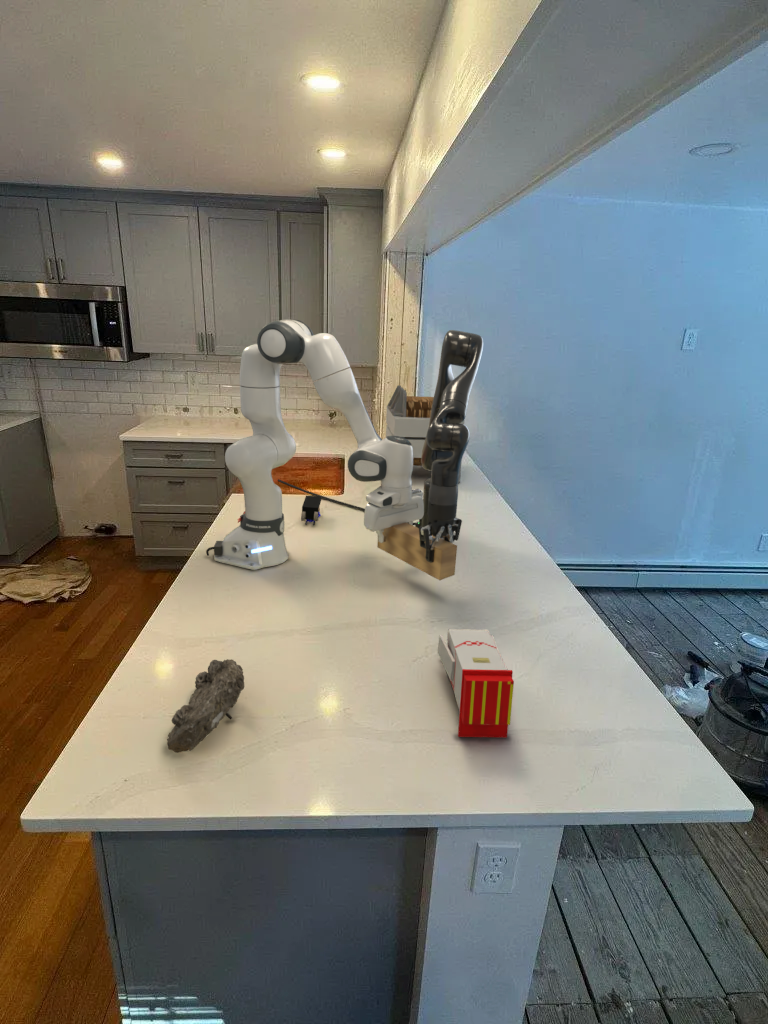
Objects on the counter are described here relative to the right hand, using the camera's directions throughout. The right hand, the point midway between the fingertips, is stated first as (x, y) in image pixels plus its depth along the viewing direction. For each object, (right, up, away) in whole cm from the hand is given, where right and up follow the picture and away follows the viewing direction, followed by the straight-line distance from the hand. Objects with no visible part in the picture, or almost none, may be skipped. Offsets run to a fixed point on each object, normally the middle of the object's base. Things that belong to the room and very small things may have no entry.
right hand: (438, 558), depth 153 cm
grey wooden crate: (+3, +31, +122) cm, 126 cm away
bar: (-6, -1, +8) cm, 10 cm away
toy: (+3, -25, -34) cm, 42 cm away
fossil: (-47, -27, -44) cm, 70 cm away
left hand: (-12, +5, +13) cm, 18 cm away
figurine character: (-41, +9, +56) cm, 70 cm away
